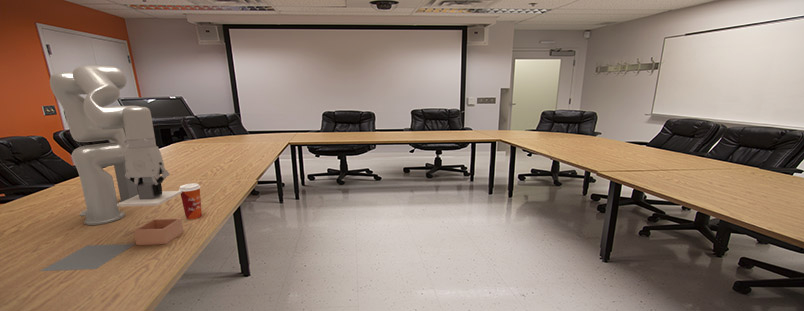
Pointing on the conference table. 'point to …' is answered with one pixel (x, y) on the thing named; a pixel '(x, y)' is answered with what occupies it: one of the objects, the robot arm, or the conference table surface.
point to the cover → (148, 196)
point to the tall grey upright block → (126, 183)
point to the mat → (88, 257)
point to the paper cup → (191, 200)
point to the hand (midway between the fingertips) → (150, 194)
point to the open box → (158, 231)
